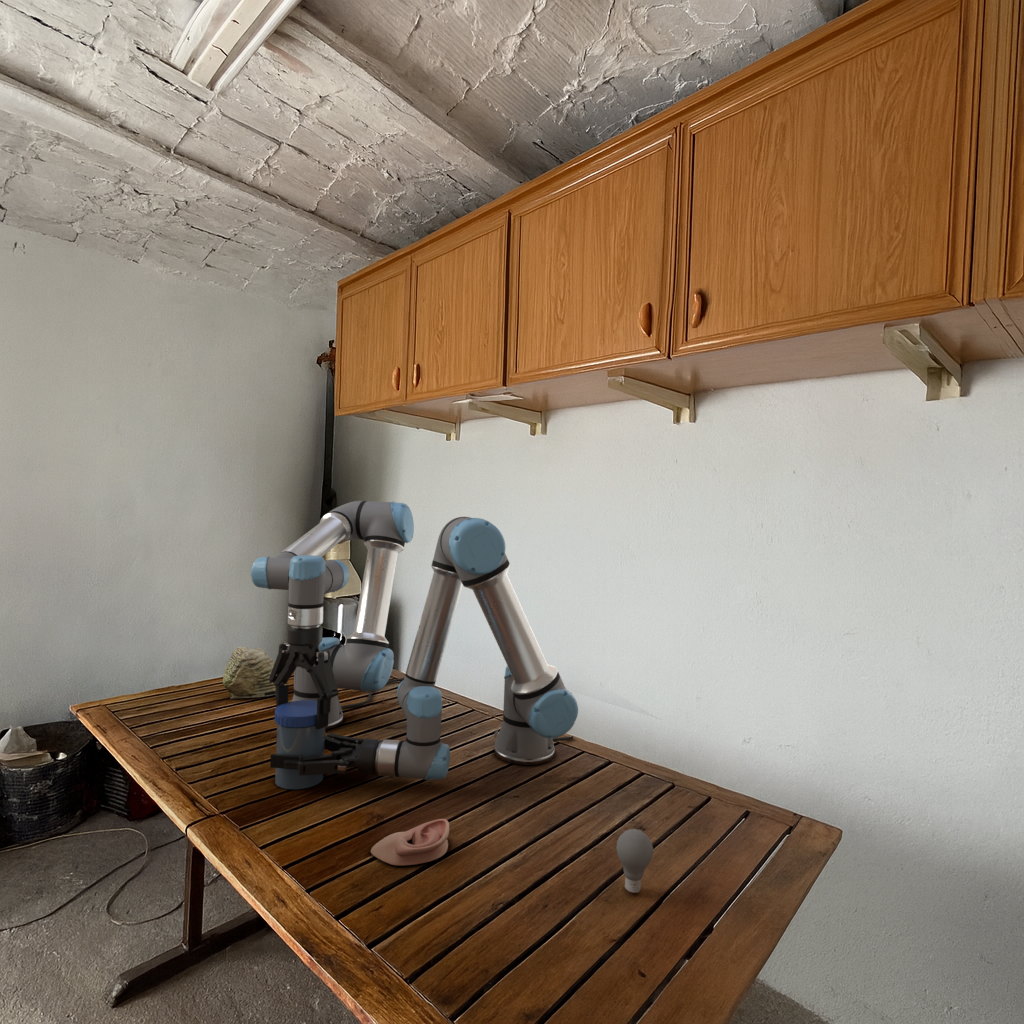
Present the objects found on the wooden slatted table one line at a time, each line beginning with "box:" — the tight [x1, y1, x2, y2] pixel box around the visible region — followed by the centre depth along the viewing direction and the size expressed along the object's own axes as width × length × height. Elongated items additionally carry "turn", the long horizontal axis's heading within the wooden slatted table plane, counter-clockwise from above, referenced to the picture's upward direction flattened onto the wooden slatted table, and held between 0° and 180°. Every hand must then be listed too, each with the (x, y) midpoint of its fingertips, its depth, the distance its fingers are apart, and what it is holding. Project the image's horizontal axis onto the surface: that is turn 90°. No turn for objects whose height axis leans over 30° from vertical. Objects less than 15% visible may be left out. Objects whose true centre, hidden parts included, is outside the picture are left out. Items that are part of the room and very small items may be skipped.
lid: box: [274, 700, 329, 728], centre depth 141 cm, size 11×12×2 cm
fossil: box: [222, 646, 287, 699], centre depth 198 cm, size 9×18×15 cm, turn 132°
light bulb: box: [615, 828, 654, 894], centre depth 106 cm, size 6×6×10 cm
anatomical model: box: [370, 818, 450, 867], centre depth 115 cm, size 13×4×12 cm
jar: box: [274, 723, 326, 790], centre depth 142 cm, size 10×10×15 cm
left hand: (301, 721), depth 141 cm, fingers open, 12 cm apart
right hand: (282, 750), depth 142 cm, fingers closed on jar, 10 cm apart
